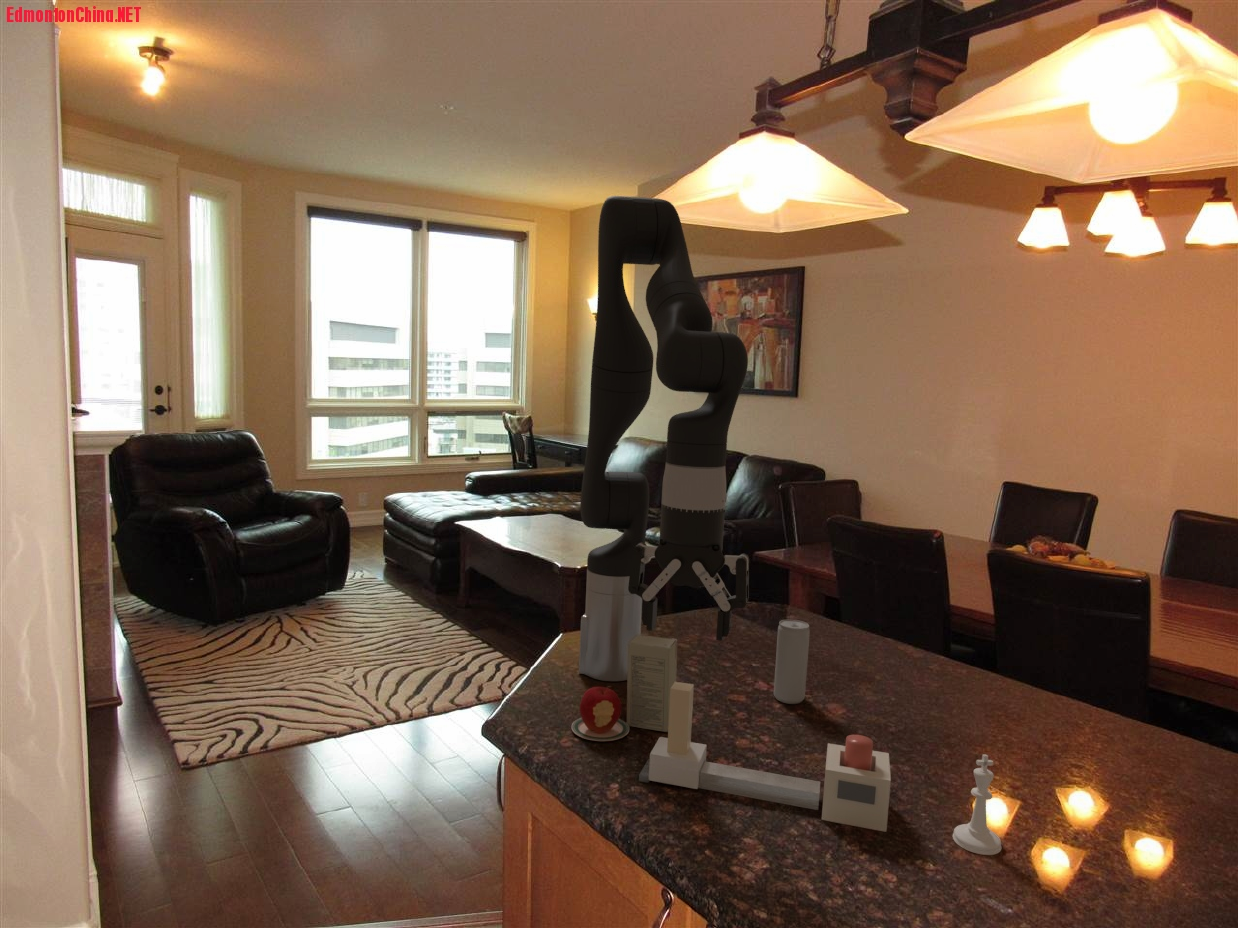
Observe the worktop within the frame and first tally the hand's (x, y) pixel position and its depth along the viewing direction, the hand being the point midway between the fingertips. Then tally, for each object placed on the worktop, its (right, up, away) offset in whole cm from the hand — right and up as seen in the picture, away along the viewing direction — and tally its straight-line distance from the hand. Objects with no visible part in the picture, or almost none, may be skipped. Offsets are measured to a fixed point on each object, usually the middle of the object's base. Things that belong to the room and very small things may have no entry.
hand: (685, 633), depth 99 cm
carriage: (-1, -18, +2) cm, 18 cm away
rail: (+6, -19, 0) cm, 20 cm away
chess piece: (+31, -21, -9) cm, 39 cm away
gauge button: (+19, -16, -4) cm, 26 cm away
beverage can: (+18, -16, +29) cm, 38 cm away
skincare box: (-4, -17, +17) cm, 24 cm away
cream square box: (+19, -20, -4) cm, 28 cm away
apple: (-11, -17, +14) cm, 24 cm away
